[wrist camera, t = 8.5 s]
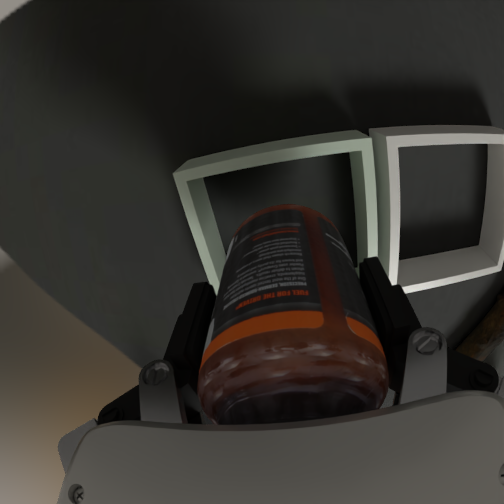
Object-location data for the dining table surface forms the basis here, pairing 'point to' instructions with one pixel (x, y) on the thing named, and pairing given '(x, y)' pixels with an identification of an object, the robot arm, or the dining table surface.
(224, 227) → the dining table surface
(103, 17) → the dining table surface
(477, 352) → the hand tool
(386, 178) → the grey bin
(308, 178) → the dining table surface
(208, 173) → the sage bin
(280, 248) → the supplement bottle
